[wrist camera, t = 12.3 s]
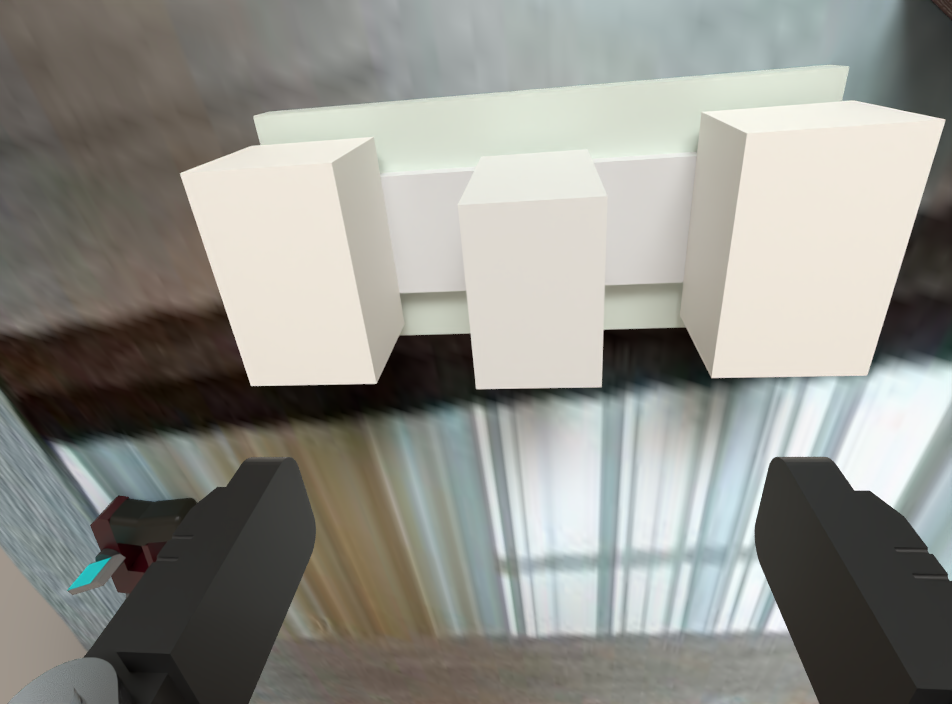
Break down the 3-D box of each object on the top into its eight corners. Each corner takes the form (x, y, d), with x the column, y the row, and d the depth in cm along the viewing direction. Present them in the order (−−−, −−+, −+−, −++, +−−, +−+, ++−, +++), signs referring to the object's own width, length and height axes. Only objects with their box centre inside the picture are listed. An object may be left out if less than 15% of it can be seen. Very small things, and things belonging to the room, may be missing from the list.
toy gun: (144, 598, 42) (101, 661, 38) (99, 481, 36) (42, 540, 32) (268, 614, 42) (238, 679, 37) (243, 497, 36) (204, 559, 31)
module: (492, 306, 24) (476, 397, 18) (481, 156, 21) (457, 205, 15) (585, 303, 24) (601, 394, 18) (587, 149, 21) (607, 195, 15)
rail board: (321, 323, 28) (258, 407, 22) (269, 111, 23) (168, 140, 17) (780, 309, 25) (859, 399, 19) (829, 64, 21) (958, 77, 14)
